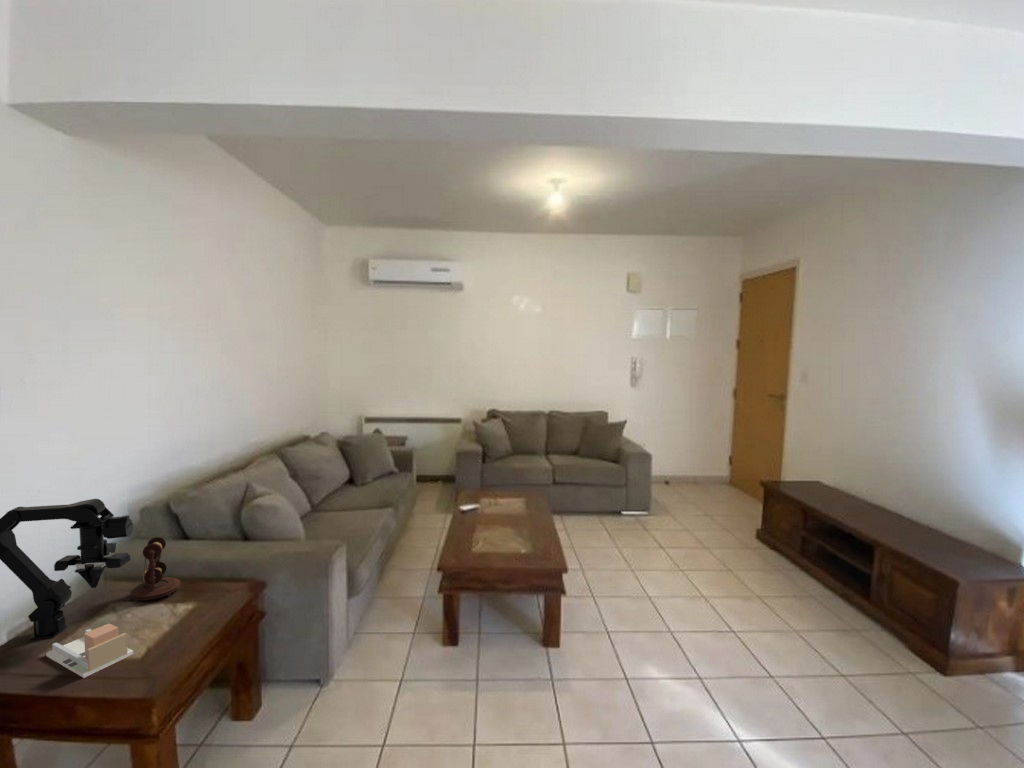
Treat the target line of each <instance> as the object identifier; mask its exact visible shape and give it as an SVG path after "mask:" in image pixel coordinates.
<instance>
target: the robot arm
mask: <svg viewBox="0 0 1024 768" xmlns="http://www.w3.org/2000/svg"><path fill="white" fill-rule="evenodd" d="M99 516H100V517H99ZM52 520H53V521H54V520H68V521H72V522H75V523H73V525H71V526H70V529H71V530H75V529H78V530H79V531H78V532H79V545H78V546H77V547H76V548H77V550H78V551H79V552H80V555H79V554H71V555H66V556H64V557H62V558H60V559H58V560H56V561H55V562H54V564H53V571H54V572H62V571H65V570H67V569H68V568H69V566H75V567H76V569H75V570H74V572H75V573H78V574H79V575H80V576H81V577H82V578H83V579H84V581H86V583H87V584H88V585H89V587H90V588H91V589H96V588H97V587H98V584H99V582H100V579H101V576H102V573H103V572H104V570H105V569H106V568H107V569H119V568H121V567H123V566H124V565H126V564H127V563H129V562H130V561H131V555H130V553H129V552H116V548H117V542H109V543H108V540H110V539H122V538H129V537H131V536H132V534H133V530H134V523H133V521H132V519H131V518H130V515H129V514H127V515H122V516H114V514H113V513H112V511H110V510H109V509H108V508H107V507H106V504H105V503H104V502H103V500H101V499H99V498H91V499H90V498H89V499H86V500H80V501H78V502H73V503H69V504H56V505H55V504H54V505H52V504H51V505H39V506H38V505H37V506H16V507H14V508H12V509H10V510H8V511H6V513H5V514H4V515H3V516H1V517H0V561H1V562H2V563H3V564H4V565H5V566H6V567H7V568H8V569H9V570H10V571H11V572H12V573H13V574H14V575H15V576H16V577H17V578H18V579H19V580H20V581H21V582H22V583H23V585H25V586H26V587H27V588H28V589H29V590H30V591H31V592H32V598H33V602H34V604H35V606H36V607H35V609H33V611H32V612H31V613H29V615H28V616H27V617H28V620H29V621H30V623H32V622H33V623H32V625H33V635H31V636H30V637H29V639H30V640H36V639H52V638H54V637H55V636H57V635H58V634H60V633H61V632H62V631H64V630H65V629H66V628H68V625H67V624H66V618H65V615H64V610H61V609H63V608H64V607H65V605H66V603H67V602H68V601H70V600H71V598H72V594H73V591H72V590H71V588H72V586H70V585H69V584H67V583H66V581H65V580H64V579H63V578H60V579H59V580H58V581H57V580H53V579H51V578H49V576H48V575H46V573H45V572H44V571H43V570H42V569H41V568H39V567H40V566H38V565H37V564H36V563H35V562H34V561H33V560H32V559H31V558H30V557H29V556H28V555H27V554H26V553H25V552H24V551H23V550H22V548H21V547H19V546H18V544H17V539H16V535H15V533H14V532H13V530H14V529H15V528H16V527H18V525H19V524H20V523H22V522H37V521H52ZM105 538H106V539H105ZM110 553H112V554H113V555H111V556H109V555H110Z"/></svg>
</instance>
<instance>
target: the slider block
mask: <svg viewBox="0 0 1024 768" xmlns="http://www.w3.org/2000/svg"><path fill="white" fill-rule="evenodd" d="M91 630H92V631H89V632H87V633H83V634H84V635H83V637H84V641H85V658H86V659H88V652H87V649H89V648H91V647H94V646H96V645H98V644H100V643H103V642H105V641H107V640H109V639H112V638H114V637H116V636H118V635H120V633H119V631H120V630H119V627H118V626H116V625H114V624H111V623H110V622H109V623H107V624H104V625H102V626H99V627H97V628H94V629H91Z"/></svg>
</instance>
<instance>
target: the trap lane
mask: <svg viewBox="0 0 1024 768" xmlns="http://www.w3.org/2000/svg"><path fill="white" fill-rule="evenodd" d="M92 630H93V629H91V628H88V629H85V631H84V632H85V633H87V632H89V631H92ZM85 633H84V634H85ZM127 635H128V633H127V632H124V633H121V634H119V635H118V636H116V637H114V638H112V639H109V640H107V641H105V642H103V643H100V644H98V645H96V646H94V647H91V648H89V649H87V652H88V659H86V658H85V641H84V636H82V637H79V638H78V639H75V640H73V641H71V642H68V643H66V644H64V645H62V644H60V643H58V642H54V643H52V645H51V647H52V649H51V650H49V651H47V652H46V653H45V655H46V657H47V658H48V659H50V660H52V661H54V662H55V663H58V664H59V665H61V666H63V667H64V668H66V669H67V670H69V671H71V672H73V673H75V674H76V675H78V676H80V677H81V678H83V679H84V678H87V677H90V675H93V674H94V673H95V674H96V673H97V672H99V671H101V670H103V669H106V668H107V667H109V666H112V665H113V664H117V663H118V662H121V661H122V660H124V659H126V658H128V657H131V656H132V655H134V650H133V649H131V648H129V647H128V637H127Z"/></svg>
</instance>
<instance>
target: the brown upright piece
mask: <svg viewBox="0 0 1024 768" xmlns="http://www.w3.org/2000/svg"><path fill="white" fill-rule="evenodd" d="M166 543H167V542H166V540H165V539H164V538H163V537H160V536H156V537H152V538H151V539H150V540H148V542H147V544H146V545H145V547H144V548H143V550H142V555H143V557H144V567H143V568H144V569H143V574H142V579H143V582H142V583H140V584H138V585H136V586H135V587H134V588H132V589H131V591H130V597H131V598H132V599H133V600H134V602H135V603H139V601H147V600H149V601H150V600H155V599H157V598H158V599H159V598H162V597H165V596H167V597H168V598H170V597H171V595H172V593H174V592H176V591H177V590H178V589H179V588H180V587H181V580H179V578H175V577H170V576H169V577H167V576H164V574H165V573H166V572H167V564H166V563H165V562H163V561H161V558H162V552H163V550H164V549H165V547H166ZM148 563H149V564H148Z"/></svg>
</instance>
